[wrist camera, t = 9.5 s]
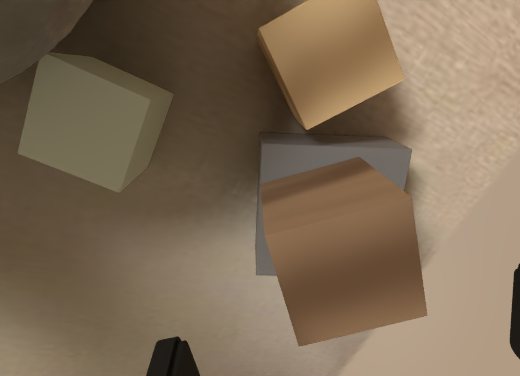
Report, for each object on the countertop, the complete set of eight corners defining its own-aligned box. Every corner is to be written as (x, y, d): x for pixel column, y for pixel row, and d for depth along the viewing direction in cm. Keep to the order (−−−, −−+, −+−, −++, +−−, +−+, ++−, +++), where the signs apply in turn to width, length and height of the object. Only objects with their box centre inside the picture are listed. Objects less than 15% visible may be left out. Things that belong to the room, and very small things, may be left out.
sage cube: (92, 56, 19) (40, 51, 14) (174, 93, 20) (150, 99, 15) (71, 135, 21) (17, 153, 16) (148, 166, 21) (119, 193, 17)
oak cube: (256, 39, 19) (258, 28, 14) (335, -5, 18) (365, -33, 14) (293, 117, 21) (306, 130, 16) (368, 78, 20) (404, 79, 15)
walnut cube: (260, 184, 18) (264, 235, 12) (359, 156, 18) (411, 197, 12) (284, 267, 20) (298, 346, 14) (375, 244, 19) (427, 315, 14)
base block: (260, 131, 21) (262, 143, 17) (383, 136, 21) (412, 149, 18) (255, 243, 24) (256, 275, 20) (365, 245, 24) (387, 278, 20)
